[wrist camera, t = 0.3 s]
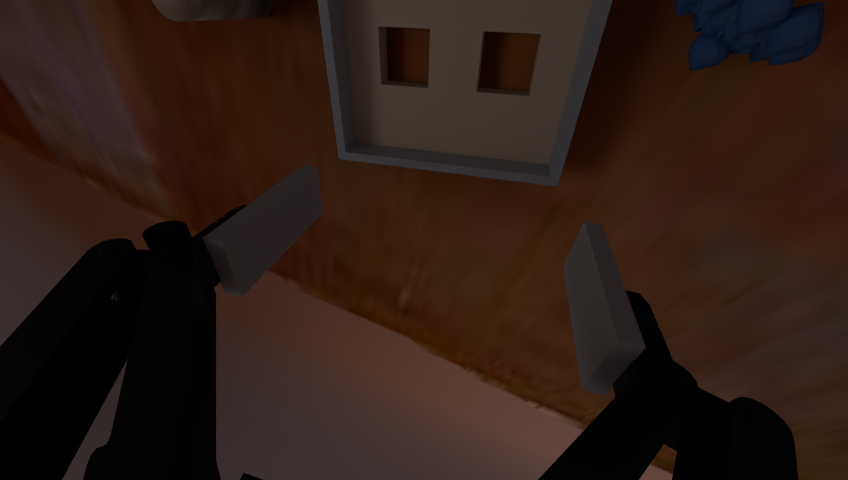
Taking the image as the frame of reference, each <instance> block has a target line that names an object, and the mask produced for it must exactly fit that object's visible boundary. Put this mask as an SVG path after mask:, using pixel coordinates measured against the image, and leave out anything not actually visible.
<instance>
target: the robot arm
mask: <svg viewBox="0 0 848 480" xmlns="http://www.w3.org/2000/svg"><path fill="white" fill-rule="evenodd" d="M321 214H322V205H321V196H320V187H319V179H318V170H317V167H313V166H308V165H302V166H301V167H299V168H298V169H297V170H295V171H294V172H293V173H291V174H290V175H288V176H287V177H286V178H284V179H283V180H282V181H280V182H279V183H277V184H276V185H275V186H273V187H272V188H271V189H269V190H268V191H266V192H265V193H264V194H262V195H261V196H260V197H258V198H257V199H255V200H254V201H253V202H251V203H250V204H249V205H243V206H240V207H237V208H235V209H232V210H231V211H229V212H228V213H227V214H225V215H224V216H223V218H222V217H221V218H219V219H218V220H217V221H216V222H215V223H212V224H211V225H210V226H208V227H207V228H205V229H204V230H202V231H201V232H200V233H198V234H197V235H195V236H194V237H192V236H191V234H190V232H189V229H188V227H187V225H186V224H185V223H184V222H181V221H165V222H161V223H158V224H155V225H153V226H151V227H149V228H148V229H146V230H145V231H144V232H143V234H142V236H143V238H144V240H145V242H146V244H147V245H148V247H149V249H150V250H136V248H135V246H134V245H133V243H132V241H131V240H128V239H121V238H119V239H110V240H107V241H103V242H100V243H99V244H97V245H95V246H93V247H92V248H90V249H89V250H88V251H87V252H86V253H85V254H84V255H83V256H82V257H81V259H80V260H79V261H78V262H77V263H76V264H75V265H74V266H73V267H72V268H71V269H70V270H69V272H68V273H67V274H66V275H65V276H64V277H63V278H62V279H61V280H60V281H59V283H58V284H57V285H56V286H55V287H54V288H53V289H52V290H51V291H50V293H48V295H47V296H46V297H45V298H44V299H43V300H42V301H41V302H40V303H39V304H38V306H37V307H36V308H35V309H34V310H33V311H32V312H31V313H30V314H29V315H28V316H27V318H26V319H25V320H24V321H23V322H22V323H21V324H20V325H19V326H18V327H17V329H16V330H15V331H14V332H13V333H12V334H11V335H10V336H9V337H8V338H7V340H6V341H5V342H4V343H3V344H2V345H1V346H0V480H62V478H63V477H64V475H65V473H66V471H67V469H68V467H69V465H70V464H71V462H72V460H73V458H74V457H75V455H76V453H77V451H78V449H79V447H80V445H81V444H82V441H83V440H84V438H85V436H86V434H87V433H88V431H89V429H90V427H91V425H92V423H93V421H94V419H95V418H96V416H97V414H98V412H99V411H100V409H101V407H102V405H103V403H104V401H105V399H106V398H107V396H108V394H109V392H110V390H111V388H112V387H113V385H114V383H115V381H116V379H117V377H118V375H119V374H120V372H121V370H122V368H123V366H124V364H125V363H126V361H127V359H128V361H127V365H126V370H125V374H124V379H123V383H122V387H121V392H120V396H119V401H118V405H117V409H116V414H115V418H114V423H113V427H112V431H111V436H110V438H109V441H108V442H107V444H106V445H104V446H102V447H99V448H97V449H96V450H95V451H94V452H93V453H92V455H91V456H90V459H89V461H88V464H87V467H86V471H85V474H84V478H83V480H221V479H220V474H219V471H218V467H217V462H216V293H215V290H214V287H215V286H216V285H218V284H219V282H221V285H222V287H223V289H224V292H225V293H228V294H232V295H236V296H240V297H242V296H243V295H244V294H245V293H246V292H247V291H248V290H249V289H250V288H251V287H252V286H253V284H255V283H256V282H257V281H258V280H259V278H260V277H261V276H262V275H263V274H264V273H265V272H266V271H267V270H268V269H269V268H270V267H271V266H272V265H273V264H274V263H275V262H276V261H277V260H278V259H279V258H280V257H281V256H282V255H283V254H284V253H285V251H286V250H287V249H288V248H289V247H290V246H291V245H292V244H293V243H294V242H295V241H296V240H297V239H298V238H299V237H300V236H301V235H302V234H303V233H304V232H305V231H306V230H307V229H308V228H309V227H310V226H311V224H312V223H313V222H314V221H315V220H316V219H317V218H318V217H319V216H320V215H321ZM563 269H564V276H565V282H566V289H567V295H568V302H569V309H570V315H571V322H572V328H573V335H574V341H575V348H576V355H577V361H578V368H579V374H580V381H581V387H582V389H583V390H586V391H590V392H594V393H597V394H601V395H606V394H607V393H608V392H609V390H610V389H611V388H612V387H613V388H614V393H615V398H614V399H613V400H612V401H611V402H610V403H609V404H608V406H607V407H606V408H605V409H604V410H603V411H602V412H601V413H600V414H599V415H598V416H597V417H596V418H595V419H594V421H593V422H592V423H591V424H590V425H589V426H588V427H587V428H586V429H585V430H584V431H583V432H582V433H581V435H580V436H579V437H578V438H577V439H576V440H575V441H574V442H573V443H572V444H571V445H570V446H569V447H568V448H567V449H566V450H565V451H564V453H563V454H562V455H561V456H560V457H559V458H558V459H557V460H556V461H555V462H554V463H553V464H552V465H551V467H550V468H549V469H548V470H547V471H546V472H545V473H544V474H543V475H542V476H541V477H540V478H539V479H538V480H639V479H640V477H641V476H642V474H643V473H644V471H645V470H646V468H647V467H648V466H649V464H650V463H651V462H652V460H653V459H654V457H655V456H656V454H657V453H658V452H659V450H660V449H661V447H662V446H663V444H665V445H667V446H668V447H670V448H672V449H674V450H675V451H677V455H676V460H675V466H674V472H673V478H672V480H798V472H797V462H796V453H795V443H794V438H793V435H792V432H791V430H790V429H789V427H788V426H787V424H786V423H785V422H784V420H783V419H781V418H780V417H779V416H778V415H777V414H776V413H775V412H774V411H773V410H771V409H770V408H768V407H767V406H765V405H764V404H762V403H760V402H758V401H756V400H753V399H751V398H746V397H739V398H736V399H734V400H732V401H731V402H730V403H728V402H726V401H724V400H722V399H720V398H718V397H716V396H714V395H712V394H710V393H708V392H706V391H704V390H703V389H701V388H699V387H698V385H697V382H696V380H695V379H694V378H693V376H692V375H691V374H690V373H689V372H688V371H687V370H686V369H685V368H684V367H683V366H681V365H679V364H678V363H676V362H674V361H673V359H672V357H671V354H670V352H669V350H668V347H667V345H666V342H665V340H664V338H663V335H662V333H661V331H660V328H658V324H657V321H656V319H655V318H654V314H653V312H652V309H651V307H650V305H649V304H648V302H647V301H646V300H645V299H644V298H643V297H642V296H641V295H640V294H639V293H635V292H630V291H626V290H625V288H624V285H623V282H622V279H621V276H620V274H619V271H618V268H617V265H616V262H615V260H614V257H613V254H612V251H611V248H610V246H609V243H608V240H607V237H606V234H605V232H604V229H603V226H602V225H601V224H596V223H591V222H586V221H584V223H583V225H582V227H581V230H580V232H579V234H578V236H577V238H576V240H575V242H574V244H573V247H572V249H571V251H570V253H569V255H568V257H567V259H566V261H565V264H564V266H563ZM112 296H113V299H112V300H111V297H112ZM240 480H262V479H259V478H257V477H254V476H251V475H248V474H245V473H244V474H243V475H242V477H241V479H240Z"/></svg>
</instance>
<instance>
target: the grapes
mask: <svg viewBox="0 0 848 480" xmlns="http://www.w3.org/2000/svg"><path fill="white" fill-rule="evenodd" d="M794 2H795V0H675V9H676V16H680V15H685V14H690V13H691V15H692V14H693V17H692V18H693V28H694V32H698V31H701V32H702V35H700V36H699V37H697V38H696V39H695V40H694V41H693V42H692V43H691V46H690V50H689V55H688V56H689V65H690V71H691V70H698V69H703V68H708V67H712V66H716V65H718V64H719V63H721V62H722V61H723V60H725V59H726V58H727V57H728V56H729V53H730V54H735V53H739V55H743V54H747V53H749V55H750V62H754V61H761V60H766V59H769V65H770V66H771V65H779V64H784V63H789V62H793V61H798V60H802V59H804V58H805V57H807V56H809V55H811V54H812V53H813V52H814V51H815V50H816V49H817V47H818V46H819V44H820V43H821V31H822V29H823V21H824V7H823V2H819V3H813V4H808V5H803V6H799V7H796V8H793V6H794ZM792 8H793V9H792Z"/></svg>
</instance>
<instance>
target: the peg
mask: <svg viewBox="0 0 848 480" xmlns="http://www.w3.org/2000/svg"><path fill="white" fill-rule="evenodd" d="M152 2H153V3H154V5H155V6H156V8H157V9H158V10H159V11H160V12H161V13H162V14H163V15H164V16H165V17H167V18H168V19H170V20H173V21H198V20H220V19H242V18H263V17H266V16H268V15H269V14H270V12H271V10H272V4H273V2H272V0H152Z"/></svg>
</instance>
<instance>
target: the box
mask: <svg viewBox="0 0 848 480" xmlns="http://www.w3.org/2000/svg"><path fill="white" fill-rule="evenodd" d="M612 1H613V0H318V7H319V15H320V22H321V30H322V37H323V44H324V52H325V59H326V67H327V74H328V81H329V89H330V96H331V104H332V111H333V118H334V126H335V133H336V141H337V148H338V155H339V159H344V160H352V161H359V162H367V163H375V164H383V165H391V166H399V167H407V168H415V169H423V170H431V171H439V172H447V173H454V174H462V175H470V176H478V177H486V178H494V179H502V180H510V181H518V182H526V183H534V184H542V185H549V186H557V187H558V183H559V180H560V176H561V173H562V170H563V166H564V163H565V160H566V156H567V153H568V149H569V146H570V143H571V139H572V136H573V132H574V129H575V126H576V122H577V119H578V116H579V112H580V109H581V105H582V102H583V99H584V95H585V92H586V89H587V85H588V82H589V78H590V75H591V72H592V68H593V65H594V62H595V58H596V55H597V51H598V48H599V45H600V41H601V38H602V35H603V31H604V28H605V24H606V21H607V18H608V14H609V11H610V8H611V4H612ZM386 27H402V28H424V29H430V49H429V81H428V84H426V83H413V82H400V81H388V64H387V36H386ZM485 31H489V32H511V33H532V34H540V38H539V43H538V48H537V53H536V58H535V63H534V68H533V73H532V78H531V83H530V88H529V91H517V90H504V89H491V88H479V82H480V73H481V65H482V56H483V47H484V39H485Z"/></svg>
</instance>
